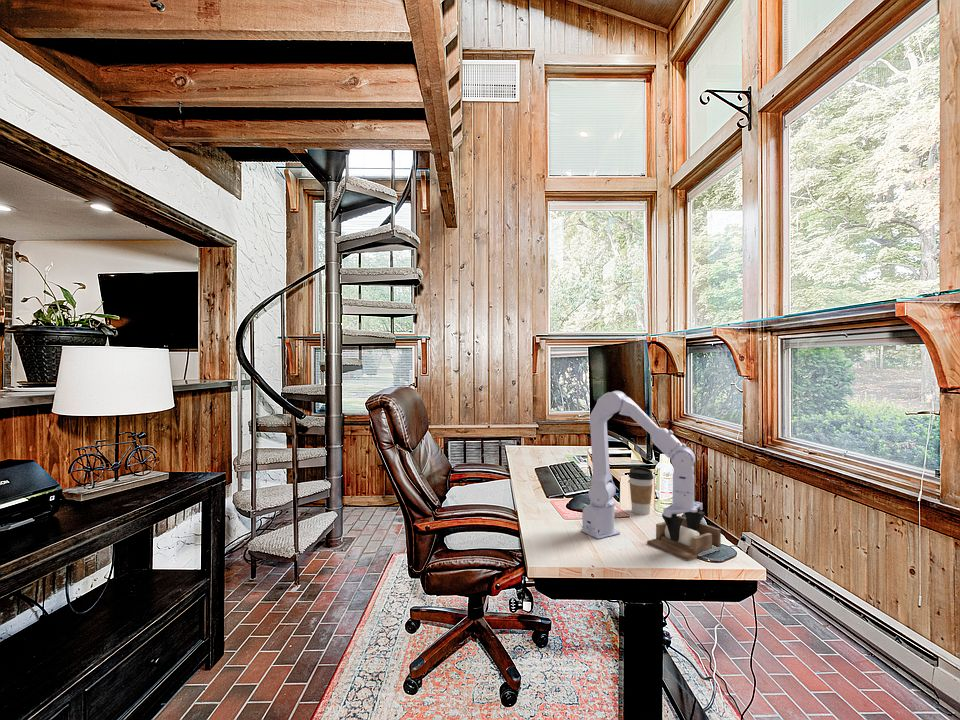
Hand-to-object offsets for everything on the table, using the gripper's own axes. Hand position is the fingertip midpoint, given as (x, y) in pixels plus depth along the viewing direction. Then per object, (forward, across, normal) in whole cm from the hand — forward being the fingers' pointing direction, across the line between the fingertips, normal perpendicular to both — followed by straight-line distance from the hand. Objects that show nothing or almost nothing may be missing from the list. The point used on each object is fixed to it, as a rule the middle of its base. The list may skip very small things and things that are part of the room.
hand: (683, 537), depth 136 cm
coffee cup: (+3, +14, +28) cm, 31 cm away
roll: (-1, 0, 0) cm, 1 cm away
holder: (+3, 0, 0) cm, 3 cm away
